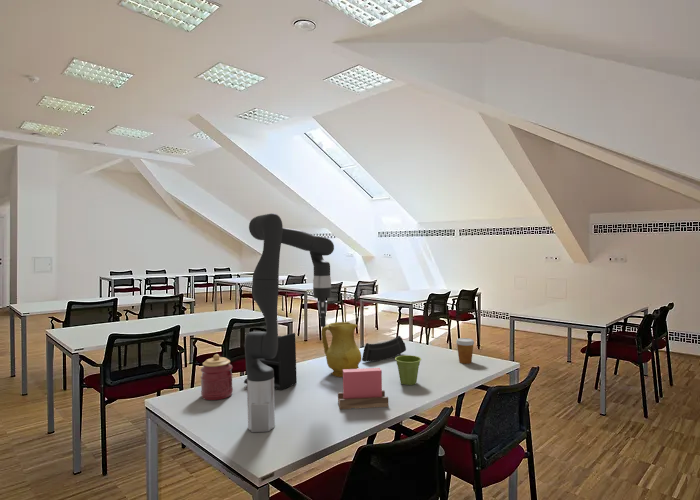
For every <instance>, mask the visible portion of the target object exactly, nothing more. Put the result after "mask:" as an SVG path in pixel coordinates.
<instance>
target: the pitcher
mask: <svg viewBox="0 0 700 500" xmlns="http://www.w3.org/2000/svg"><path fill="white" fill-rule="evenodd" d="M357 327H358V325H357V324H356V323H352V322H350V321H338V322H330V323H329V324H326V326H325V327H322V329H321V340H322V344H323V345H322V346H323V350H324V351H323V352H324V354H325V358H326V359H325V361H326V363H327V366H328V368H329V369H331V370H332V372H331V375H332V376H333V377H340V378H343V369H360V368H359V364H360V363H361V362H362V352H361V350H360V349H359V347H358V345H357V343H356V341H355V330H356V328H357ZM327 331H329V332H330V334H331V336H332V337H331V342H330V345H329V344H328V340H327Z"/></svg>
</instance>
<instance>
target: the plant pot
mask: <svg viewBox="0 0 700 500" xmlns="http://www.w3.org/2000/svg"><path fill="white" fill-rule="evenodd" d="M394 361H396V365H397V369H398V376H399V381H400V382H399V383H400V384H401V385H405V386H414V385H416V384H417V382H418V381H417V380H418V374H419V367H420V364H421V363H420V362H421V361H422V358H421V357H420V356H416V355H408V354H406V355H404V354H403V355H397V356H395V358H394Z"/></svg>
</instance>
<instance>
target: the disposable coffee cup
mask: <svg viewBox="0 0 700 500" xmlns="http://www.w3.org/2000/svg"><path fill="white" fill-rule="evenodd" d="M455 343H456V347H457V355H458V361H459V363H460V364H463V365H464V364H465V365H469V364H472V360H473V354H474V353H473V352H474V345H475V341H474V339H473V338H468V337H460V338H456V341H455Z"/></svg>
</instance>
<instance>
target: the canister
mask: <svg viewBox="0 0 700 500" xmlns="http://www.w3.org/2000/svg"><path fill="white" fill-rule="evenodd" d="M232 369H233V365H232V364H231V360H230V359H228V358H227V357H223V356H220V354H218V353H216V354H214V355H213V357H211V358H208V359H206V360H205V361H204V362H202V367H201V368H200V372H201V376H200V379H201V381H200V383H201V389H200V395H201V398H202V399H203V400H206V401H218V400H224V399H227V398H229V397H231V396H232V395H233V391H234V387H233V373H232Z"/></svg>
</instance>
